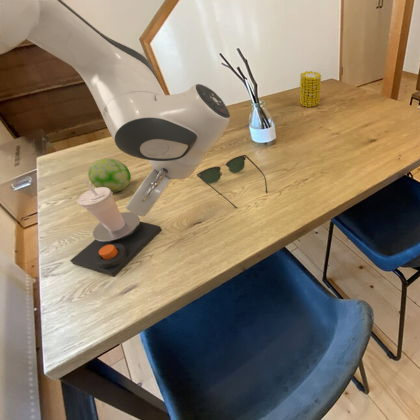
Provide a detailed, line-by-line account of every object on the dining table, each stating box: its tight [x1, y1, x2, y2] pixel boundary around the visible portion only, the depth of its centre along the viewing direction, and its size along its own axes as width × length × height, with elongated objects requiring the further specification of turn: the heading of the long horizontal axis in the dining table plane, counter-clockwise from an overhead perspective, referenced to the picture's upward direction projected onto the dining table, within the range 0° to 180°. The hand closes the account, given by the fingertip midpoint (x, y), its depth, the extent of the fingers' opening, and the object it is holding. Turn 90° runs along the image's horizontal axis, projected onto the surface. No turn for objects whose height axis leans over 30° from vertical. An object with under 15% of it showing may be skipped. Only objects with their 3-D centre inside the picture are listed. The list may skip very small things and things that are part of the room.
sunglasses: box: [196, 154, 268, 209], centre depth 83 cm, size 16×17×5 cm
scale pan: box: [92, 211, 141, 243], centre depth 68 cm, size 10×10×1 cm
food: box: [299, 70, 322, 108], centre depth 127 cm, size 15×12×10 cm
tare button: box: [99, 245, 118, 260], centre depth 62 cm, size 3×3×2 cm
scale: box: [69, 220, 163, 278], centre depth 66 cm, size 15×12×3 cm
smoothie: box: [76, 178, 125, 231], centre depth 63 cm, size 6×6×14 cm
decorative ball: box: [87, 157, 132, 194], centre depth 81 cm, size 10×10×10 cm
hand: (147, 195), depth 61 cm, fingers open, 8 cm apart
